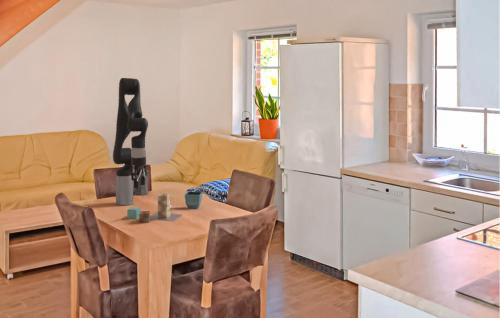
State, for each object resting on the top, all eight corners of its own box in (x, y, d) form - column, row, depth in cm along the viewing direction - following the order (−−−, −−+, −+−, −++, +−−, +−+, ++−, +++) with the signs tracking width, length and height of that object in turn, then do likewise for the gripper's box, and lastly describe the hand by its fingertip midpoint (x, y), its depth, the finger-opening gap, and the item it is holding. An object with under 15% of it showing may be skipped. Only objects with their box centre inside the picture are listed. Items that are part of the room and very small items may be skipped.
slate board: (144, 221, 287) (144, 219, 286) (155, 214, 300) (155, 212, 300) (173, 223, 283) (173, 221, 282) (183, 216, 296) (183, 214, 296)
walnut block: (139, 225, 280) (139, 213, 279) (140, 222, 285) (140, 211, 284) (149, 224, 280) (149, 213, 279) (150, 222, 285) (149, 211, 284)
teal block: (127, 220, 289) (127, 209, 288) (131, 218, 293) (131, 207, 292) (136, 221, 287) (136, 209, 286) (140, 218, 292) (140, 207, 291)
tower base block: (157, 217, 289) (157, 206, 288) (161, 215, 294) (161, 204, 293) (166, 218, 288) (166, 207, 287) (170, 215, 293) (170, 204, 292)
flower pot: (202, 206, 318) (202, 191, 317) (199, 210, 310) (199, 195, 308) (187, 206, 319) (187, 191, 318) (184, 210, 311) (184, 194, 309)
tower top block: (158, 206, 288) (157, 195, 287) (160, 204, 293) (160, 193, 292) (167, 207, 288) (167, 195, 287) (169, 204, 292) (169, 193, 292)
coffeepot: (154, 193, 352) (153, 166, 350) (143, 196, 345) (142, 168, 342) (137, 190, 361) (136, 163, 358) (126, 193, 354) (125, 165, 351)
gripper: (137, 154, 295) (138, 183, 297) (126, 157, 281) (127, 188, 284) (150, 154, 293) (151, 184, 296) (139, 158, 280) (140, 189, 282)
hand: (139, 186), depth 290 cm, fingers open, 8 cm apart
